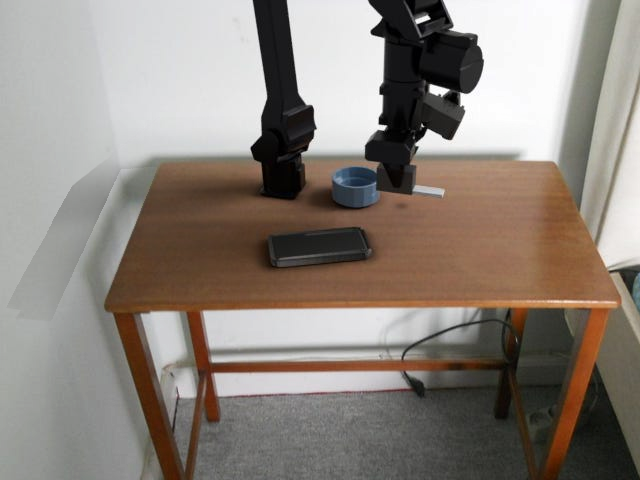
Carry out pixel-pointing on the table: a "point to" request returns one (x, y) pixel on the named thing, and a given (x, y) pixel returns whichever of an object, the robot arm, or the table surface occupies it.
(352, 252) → the phone
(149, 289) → the table surface
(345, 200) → the bowl
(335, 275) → the table surface
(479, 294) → the table surface
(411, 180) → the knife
